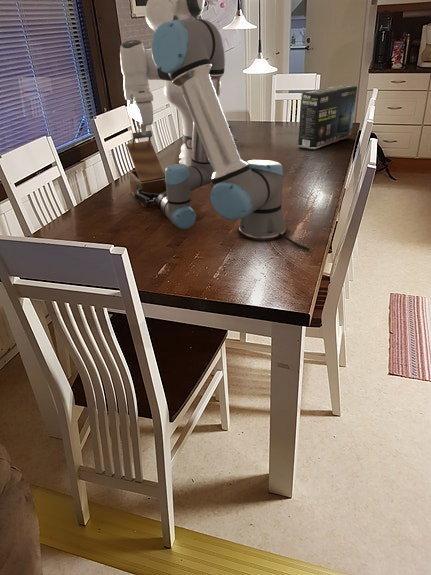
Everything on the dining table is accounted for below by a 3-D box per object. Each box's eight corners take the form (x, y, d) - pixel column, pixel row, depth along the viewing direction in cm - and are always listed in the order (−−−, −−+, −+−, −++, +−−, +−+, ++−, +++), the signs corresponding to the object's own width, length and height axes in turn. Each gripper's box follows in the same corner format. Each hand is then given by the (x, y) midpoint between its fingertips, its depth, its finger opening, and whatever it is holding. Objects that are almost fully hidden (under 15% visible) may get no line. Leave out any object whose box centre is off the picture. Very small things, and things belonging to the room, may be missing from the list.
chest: (131, 193, 186) (128, 171, 182) (154, 189, 190) (151, 167, 185) (143, 207, 173) (140, 183, 168) (167, 202, 176) (165, 179, 171)
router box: (314, 151, 231) (318, 94, 217) (296, 148, 237) (299, 92, 224) (352, 138, 251) (358, 85, 238) (335, 135, 258) (340, 83, 245)
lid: (126, 145, 174) (127, 129, 167) (150, 142, 177) (152, 126, 170) (140, 182, 168) (142, 167, 161) (165, 178, 172) (167, 163, 164)
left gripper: (121, 90, 168) (126, 129, 175) (136, 98, 152) (141, 140, 159) (137, 88, 170) (142, 127, 177) (154, 96, 154) (158, 138, 161)
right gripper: (140, 221, 155) (123, 200, 173) (200, 209, 163) (178, 190, 181) (137, 199, 152) (120, 181, 169) (199, 188, 159) (177, 172, 177)
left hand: (142, 133), depth 168 cm, fingers closed
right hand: (150, 186), depth 175 cm, fingers closed on chest, 9 cm apart
